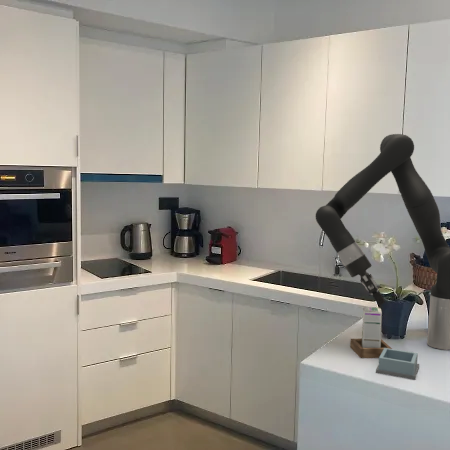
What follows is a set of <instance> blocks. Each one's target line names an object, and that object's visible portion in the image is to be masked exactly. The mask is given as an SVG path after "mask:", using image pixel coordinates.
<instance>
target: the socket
mask: <svg viewBox="0 0 450 450" xmlns="http://www.w3.org/2000/svg"><path fill="white" fill-rule="evenodd" d="M418 354H419V352H413V351H408V350H400V349H396V348H395V349H394V348H392V349H389V348H384V349H383V351H382V353H381V355H380V357H379V358H378V365H377V366H376V369H375V373H376V374H381V375H386V376H387V375H388V376H392V377H398V378H403V379H409V380H414V381H415V380H416V378H417V375H418V372H419V369H420V363H418V357H419V355H418Z"/></svg>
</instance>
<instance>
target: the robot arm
mask: <svg viewBox="0 0 450 450" xmlns="http://www.w3.org/2000/svg"><path fill="white" fill-rule="evenodd" d="M414 150H415V144H414V141H413V140H412V138H411V137H410V136H409V135H406V134H402V133H394V134H393V133H391V134H388V135H386V136H384V138H383V139H382V141H380V145H379V151H380V153H379V154H378V155H377V157H376V158H374V159H373V161H372V162H370V163H369V164H368V165H367V166H365V168H363V169H362V170H361V171H359V172H358V173H356V174H355V175H354V176H353V177H351V178H350V179H349V180H347V182H346V183H345V184H343V186H342V187H341V188H339V190H337V192H336V193H335V195H334V197H333V198H332V199H330V200H329V202H328V203H326V204H325V205H323V206H320V207H318V209H317V210H316V212H315V220H316V222H317V224H318V226H319V227H320V229H321V230H322V231H323V233H324V234H325V235H326V237H327V239H328V240H329V242H330V244H331V246H332V247H333V249H334V251H335V252H336V254H337V255H338V257H339V260H340V261H341V262H342V263H341V264H342V265H343V266H344V267H345V269H346V270H347V272H348V275H349V276H350V277H351V278H355V277H356V276H360V280H359V281H360V283H361V284H362V285H363V286H364V287H365V290H366V291H367V292H368V293H369V294H370V296H372V297H373V299H374V300H375V302H376V303H377V305H378V306H381V305H383V304H384V303H385V302H386V301H385V298H384V297H383V295H382V294H381V292H380V290H379V287H378V286H377V282H376V280H375V278H374V277H373V275H372V274H371V273H369V272H367V270H369V269H370V268H371V267H372V263H371V262H370V260H369V258H368V257H367V255H366V254H365V252H364V251H363V249H362V248H361V246H360V245H359V244H358V243H357V242H356V240H355V239H354V237H353V235H352V234H351V233H350V231H349V230H348V229H347V228H346V226H345V225H344V223H343V221H342V218H343V217H344V216H345V215H346V214H347V213H348V212H349V210H350V209H352V208H353V207H354V206H355V205H356V204H357V203H358V202H359V201H360V200H361V199H362V198H363V197H364V196H366V194H367V193H368V192H369V191H371V190H372V189H373V188H374V187H375V186H376V184H378V183H379V182H380V181H382V179H383V178H384V177H385V178H386V176H387V175H388V174H390V173H391V174H392V177H393V179H395V182H396V186H397V188H398V191H399V193H400V196H401V198H402V201H403V204H404V206H405V208H406V211H407V214H408V216H409V217H410V219H411V221H412V223H413V226H414V228H415V230H416V233H417V234H418V236H419V238H420V240H421V242H422V245H423V248H424V252H425V254H426V258H427V260H428V264H429V266H430V268H431V269H432V270H433V272H435V273H436V281H435V284H434V285H432V286H431V288H430V297H429V298H430V299H429V311H428V312H429V313H428V326H427V337H426V340H427V341H426V342H427V343H426V344H427V346H429V347H431V348H433V349H439V350H445V351H446V350H447V351H450V246H449V244H448V243H447V240H446V239H445V236H444V234H443V232H442V227H441V215H440V209H439V207H438V204H437V202H436V200H435V198H434V195H433V193H432V191H431V189H430V188H429V187H428V185H427V184H426V182H425V181H424V179H423V177H421V176H420V174H419V173H418V171H417V169H416V168H415V165H414V163H413V161H412V158H411V157H412V156H413V154H414Z"/></svg>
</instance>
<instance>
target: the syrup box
mask: <svg viewBox="0 0 450 450" xmlns="http://www.w3.org/2000/svg"><path fill="white" fill-rule="evenodd" d="M382 315H383V312H382V309H381V307H377V306H363V308H362V327H361V328H362V330H361V331H362V332H361V333H362V334H361V338H362V348H381V339H382V317H383V316H382Z"/></svg>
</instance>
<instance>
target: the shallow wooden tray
mask: <svg viewBox="0 0 450 450" xmlns="http://www.w3.org/2000/svg"><path fill="white" fill-rule="evenodd" d="M349 347H350V349H351V350H352V351H353V352H354V353H355V355H357V357H359V359H379V357H380V355H381V353H382V351H383V349H384V348H389V349H393V348H392V347H391V346H390V345H389V344H388V343H386V341H384V340H383V339H382V338H381V348H362V337H361V338H350V345H349Z"/></svg>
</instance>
